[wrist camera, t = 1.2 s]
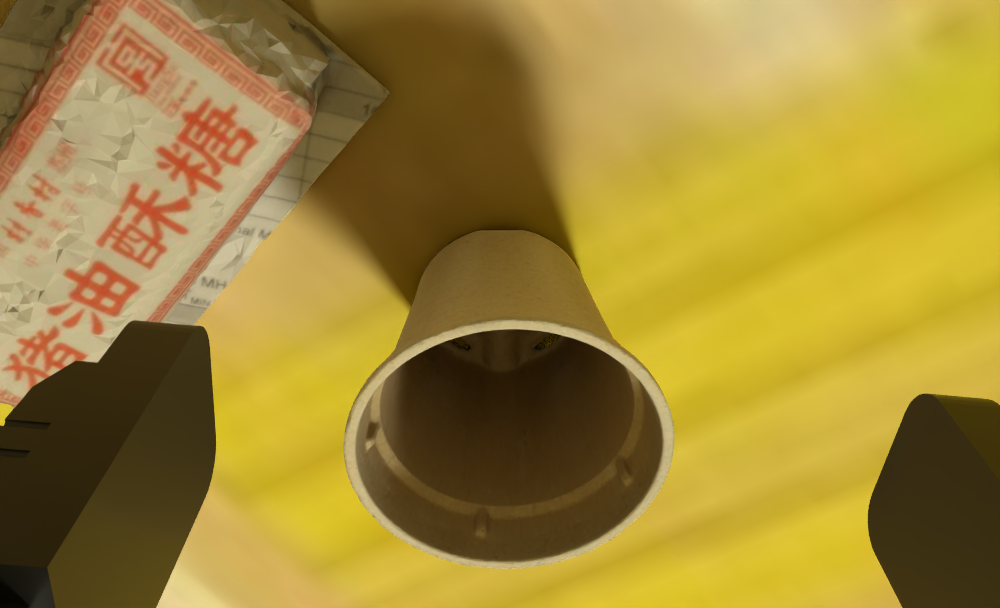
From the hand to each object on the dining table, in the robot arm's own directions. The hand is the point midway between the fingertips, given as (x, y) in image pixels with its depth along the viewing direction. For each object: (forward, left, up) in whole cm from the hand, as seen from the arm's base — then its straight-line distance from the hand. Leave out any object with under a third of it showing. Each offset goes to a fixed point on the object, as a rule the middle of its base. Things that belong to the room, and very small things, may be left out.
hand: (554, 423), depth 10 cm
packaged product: (+3, -14, -20) cm, 25 cm away
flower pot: (+10, -2, -20) cm, 22 cm away
